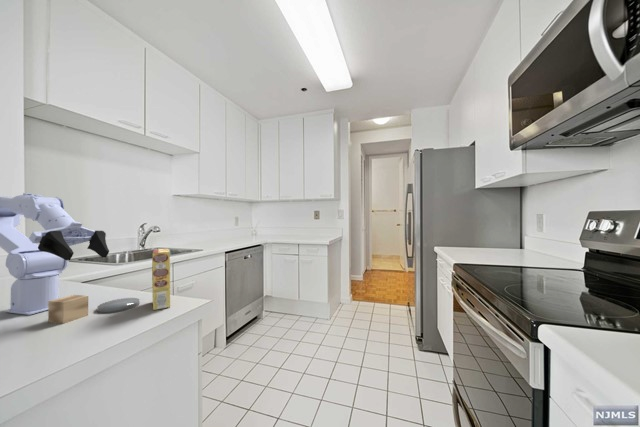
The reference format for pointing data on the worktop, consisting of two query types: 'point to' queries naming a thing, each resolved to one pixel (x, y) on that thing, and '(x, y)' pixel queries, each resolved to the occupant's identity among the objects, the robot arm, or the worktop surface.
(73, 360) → the worktop surface
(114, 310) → the slate coaster
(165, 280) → the candy box
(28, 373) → the worktop surface
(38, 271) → the robot arm
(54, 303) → the oak cube
